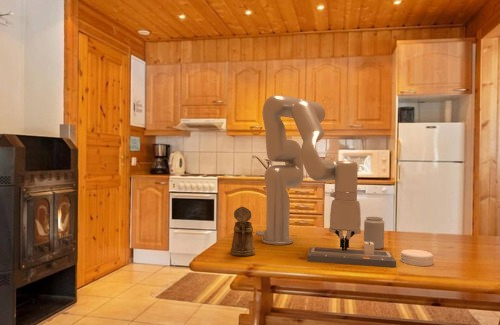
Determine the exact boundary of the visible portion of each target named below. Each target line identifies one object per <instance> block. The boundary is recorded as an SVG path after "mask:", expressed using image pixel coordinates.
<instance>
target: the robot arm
mask: <svg viewBox="0 0 500 325" xmlns="http://www.w3.org/2000/svg"><path fill="white" fill-rule="evenodd" d="M325 110H326V109H325V108H324V106H323V104H321V103H319V102H315V101H312V100H311V101H310V100H307V99H303V98H299V97H293V96H289V95H288V96H287V95H281V94H274V95H271V96H270V97H268V98H267V99H266V100H265V101H264V104H263V106H262V113H261V114H262V120H263V126H264V133H265V148H266V156H267V159H268V160H269V161H270V162H276V163H284V164H274V165H271V166H270V167H268V168H266V170H265V171H264V182H265V183H264V184H265V192H266V212H265V214H266V216H265V217H266V222H265V224H266V225H265V230H263V231H262V230H256V231H255V236H258V237H262V238H261V241H262V242H263V243H264V244H268V245H275V246H281V245H282V246H283V245H290V244H293V242H294V239H293V238H291V237H290V208H291V207H290V204H291V203H290V200H291V199H290V194H289V193H288V190H287V189H292V188H293V189H294V188H298V187H300V186H301V185H302V184H303V182H304V177H305V176H304V174H305V173H304V169H305V171H306V173H307V175H308V176H309V178H310V179H312V180H313V181H316V182H317V181H318V182H324V181H325V182H326V181H327V182H329V181H334V191H333V192H330V198H331V197H332V198H333V199H332V200H331V205H330V214H329V228H328V232H329V233H332V234H335V235H336V236H337V237H338V238H339V248H342V251H344V249H345V251H347V249H350V239H351V238H352V237H353V236H355V235H360V234H361V233H362V230H361V227H362V222H361V221H362V220H361V219H362V218H361V216H362V214H361V205H360V201H359V200H358V173H359V172H358V169H359V167H358V166H359V164H358V163H357V162H356V161H354V160H335V159H321V157H320V155H319V154H318V151H317V147H316V144H317V143H318V142H320V141H321V140H322V139H323V138H324V136H325V130H324V128H323V127H322V126H323V125H321V123H322V122H323V121H324V120H325V118H326V111H325ZM281 117H283V118H292V120H294V123H295V126H296V129H297V130H298V132H299V134H300V137H301V139H302V144H301V145H300V144H299V143H298V142H297V141H295V140H294V139H293V140H292V139H287V132H286V127H285V124H284V121H283V120H282V118H281ZM343 231H345V232H346V234H345V236H344V234H343Z"/></svg>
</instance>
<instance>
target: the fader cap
mask: <svg viewBox="0 0 500 325" xmlns="http://www.w3.org/2000/svg"><path fill="white" fill-rule="evenodd" d="M363 250H364V255H374V251H375V250H374V243H373V242H369V241H368V242H364V241H363Z"/></svg>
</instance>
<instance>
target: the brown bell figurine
mask: <svg viewBox="0 0 500 325" xmlns="http://www.w3.org/2000/svg"><path fill="white" fill-rule="evenodd" d="M233 216H234V219H235V220H236V221H235V222H234V226H233V236H232V244H231V248H230V252H229V253H230V255H232V256H234V255H235V257H251V255H252V256H254V255H255V254H256V249H255V244H254V235H253V232H254V226H253V224H252V222H251V221H250V220H251V219H252V211H251V210H250V209H248V208H247V207H244V206H240V207H238V208H236V209H235V210H234V212H233Z"/></svg>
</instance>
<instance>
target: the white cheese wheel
mask: <svg viewBox="0 0 500 325" xmlns="http://www.w3.org/2000/svg"><path fill="white" fill-rule="evenodd" d="M433 257H434V254H433V253H431V252H429V251H426V250H422V249H413V248H411V249H403V250H401V252H400V261H401V262H402V263H403V262H404V264H406V263H407V264H406V265H410V264H411V265H410V266H415V265H416V266H415V267H430V266H432V265H433V264H434V262H433V260H434V258H433Z"/></svg>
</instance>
